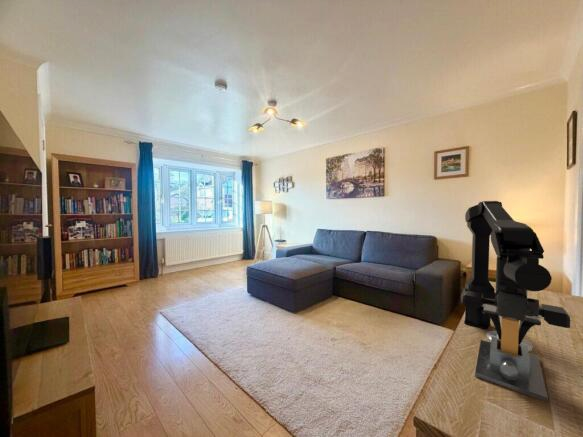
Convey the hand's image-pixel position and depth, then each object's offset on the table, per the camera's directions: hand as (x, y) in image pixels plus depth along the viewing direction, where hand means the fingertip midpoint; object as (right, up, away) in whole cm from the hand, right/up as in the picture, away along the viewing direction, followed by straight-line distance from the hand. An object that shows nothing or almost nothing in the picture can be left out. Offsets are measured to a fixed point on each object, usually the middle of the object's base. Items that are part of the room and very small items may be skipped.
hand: (509, 341), depth 60 cm
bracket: (+1, -7, +2) cm, 8 cm away
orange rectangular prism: (0, -4, 0) cm, 4 cm away
